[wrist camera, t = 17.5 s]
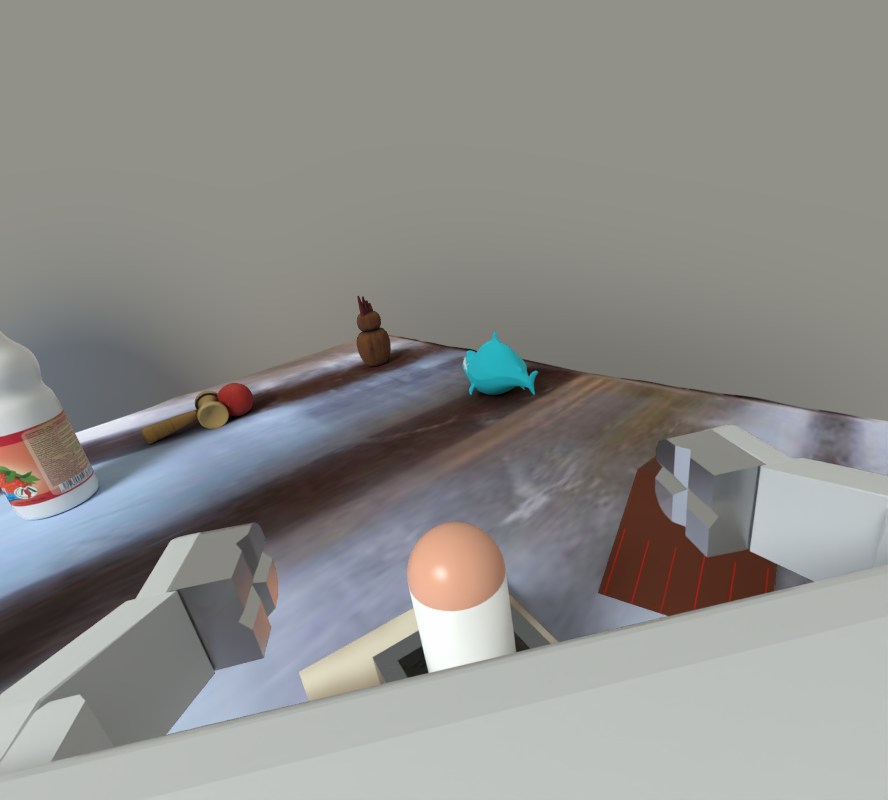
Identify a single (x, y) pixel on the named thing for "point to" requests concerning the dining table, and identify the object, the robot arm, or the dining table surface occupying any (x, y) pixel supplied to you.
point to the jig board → (370, 657)
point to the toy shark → (496, 369)
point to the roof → (674, 560)
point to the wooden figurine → (371, 336)
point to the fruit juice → (37, 442)
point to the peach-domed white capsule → (460, 596)
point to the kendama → (206, 411)
